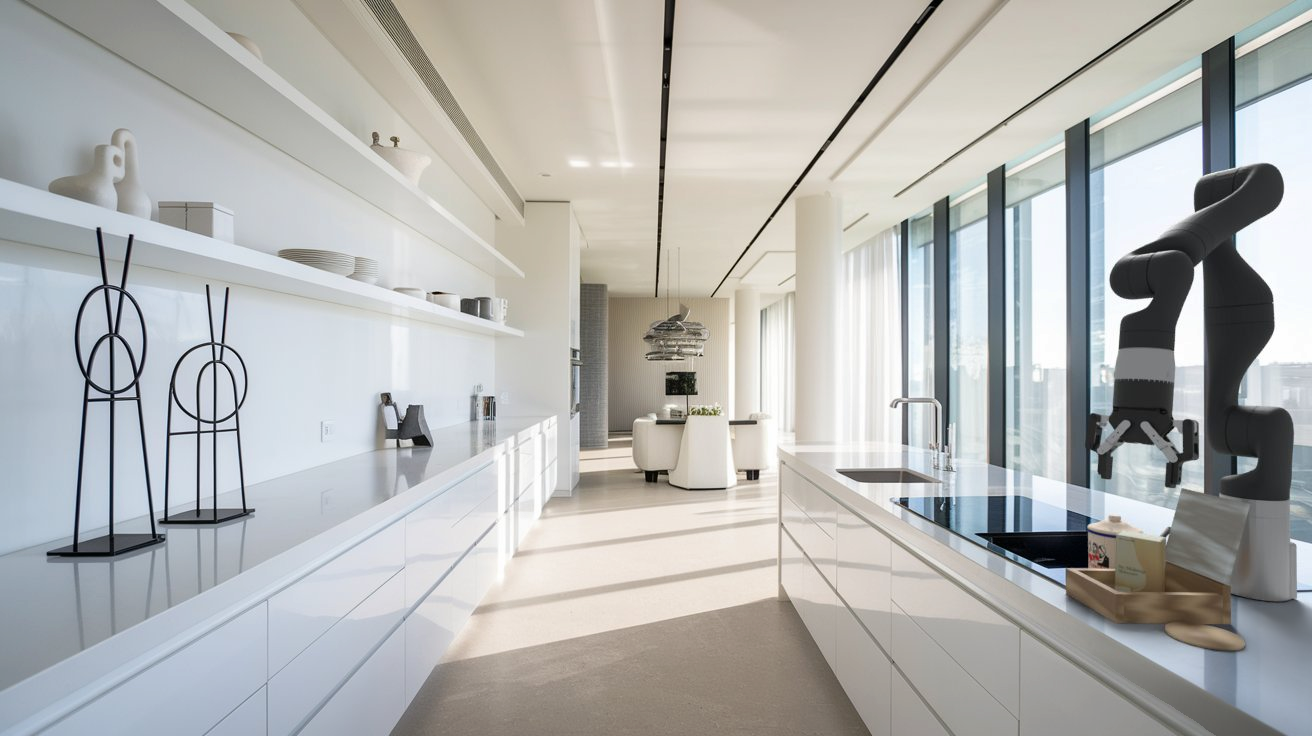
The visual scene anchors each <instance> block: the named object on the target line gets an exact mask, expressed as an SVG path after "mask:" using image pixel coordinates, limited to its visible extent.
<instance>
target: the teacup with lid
mask: <svg viewBox="0 0 1312 736" xmlns="http://www.w3.org/2000/svg"><path fill="white" fill-rule="evenodd" d="M1086 530H1087V539H1088V540H1087V547H1088V549H1087V552H1088V553H1087V554H1088V560H1087V561H1088V563H1087V565H1088V568H1091V569H1115V559H1116V534H1117V533H1119V532H1120V531H1122V530H1124V531H1130V532H1137V533H1144V532H1143V530H1142V529H1140V528H1138V527H1136V526H1133V525H1131V524H1129V523H1128V522H1126V521H1124V520H1122V517H1121V515H1119V514H1109V515H1108V519H1107V518H1106V519H1101V520H1100V521H1098V522H1092V523H1089V524H1088V525H1087V527H1086Z"/></svg>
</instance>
